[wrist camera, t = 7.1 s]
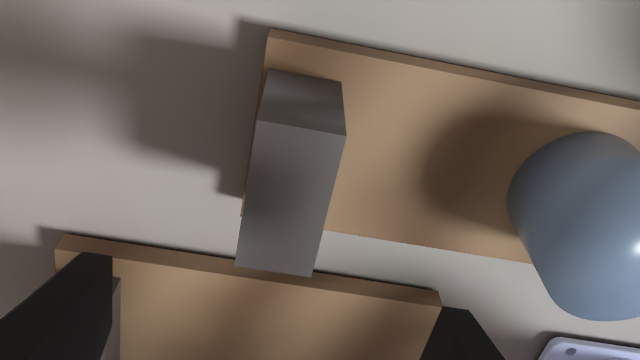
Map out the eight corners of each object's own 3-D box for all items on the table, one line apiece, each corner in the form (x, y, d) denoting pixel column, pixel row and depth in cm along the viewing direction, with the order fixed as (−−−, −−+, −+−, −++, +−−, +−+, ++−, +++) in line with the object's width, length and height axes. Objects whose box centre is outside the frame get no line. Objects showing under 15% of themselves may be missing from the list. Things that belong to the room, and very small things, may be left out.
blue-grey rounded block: (672, 145, 19) (750, 209, 16) (605, 254, 22) (660, 330, 18) (538, 119, 18) (588, 180, 15) (486, 234, 21) (519, 309, 18)
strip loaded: (709, 115, 19) (819, 189, 15) (616, 263, 23) (685, 357, 19) (270, 27, 18) (254, 82, 14) (243, 201, 21) (224, 288, 17)
